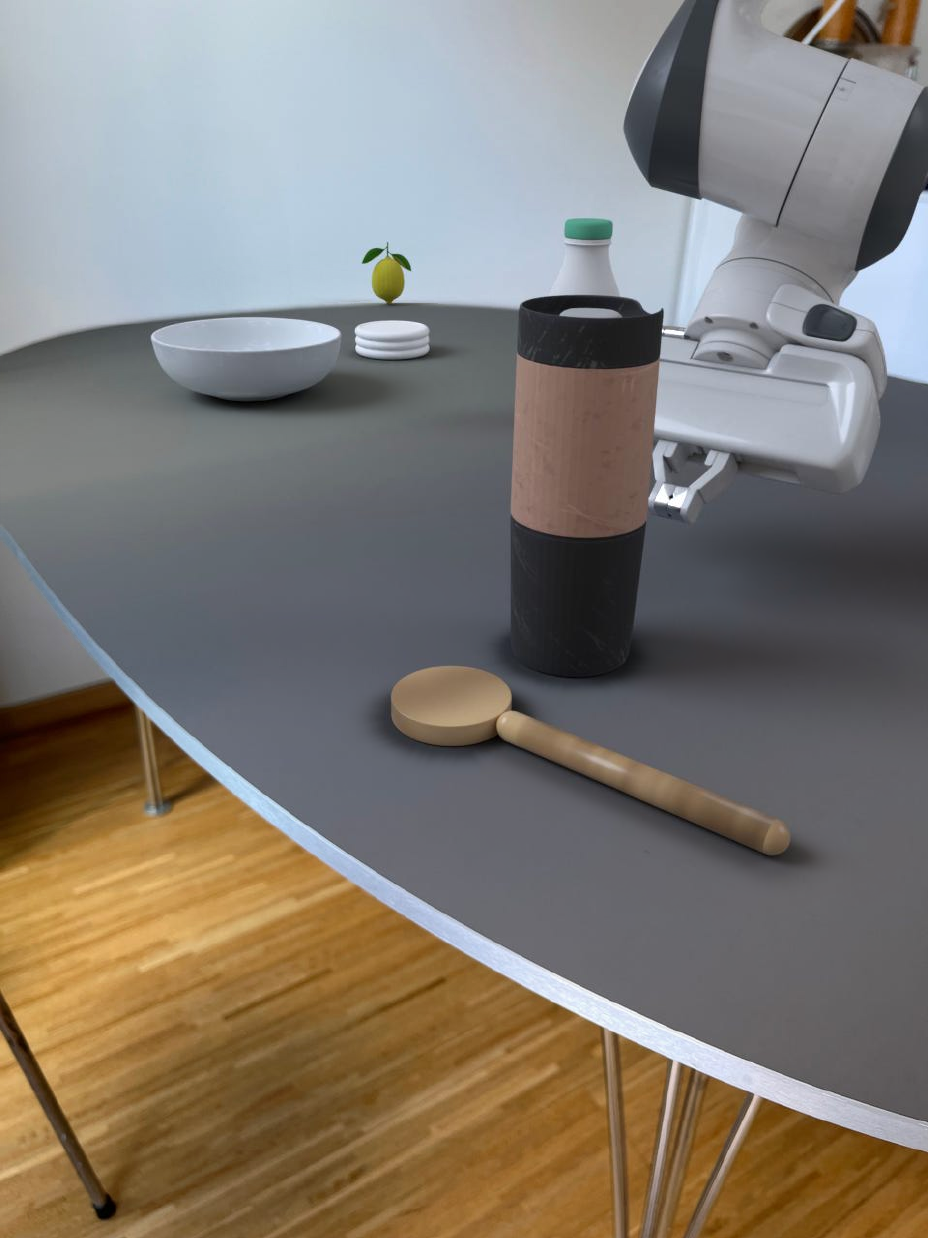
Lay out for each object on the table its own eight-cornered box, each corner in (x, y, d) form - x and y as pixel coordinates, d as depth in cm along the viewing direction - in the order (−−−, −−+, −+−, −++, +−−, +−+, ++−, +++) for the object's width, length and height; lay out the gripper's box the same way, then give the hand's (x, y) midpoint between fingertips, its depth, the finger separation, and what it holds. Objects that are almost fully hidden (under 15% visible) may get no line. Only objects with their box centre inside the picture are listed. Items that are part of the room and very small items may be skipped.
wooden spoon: (815, 823, 47) (820, 794, 46) (753, 897, 42) (759, 866, 42) (444, 672, 59) (444, 648, 58) (366, 717, 55) (365, 691, 54)
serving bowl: (333, 416, 109) (330, 350, 106) (136, 415, 109) (127, 349, 106) (351, 372, 128) (349, 315, 125) (183, 371, 128) (176, 314, 125)
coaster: (401, 363, 133) (401, 336, 132) (340, 354, 138) (339, 327, 136) (443, 350, 141) (443, 324, 139) (384, 342, 145) (383, 317, 144)
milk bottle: (623, 419, 109) (639, 218, 100) (601, 438, 103) (615, 224, 94) (555, 411, 112) (564, 214, 103) (528, 428, 106) (536, 220, 97)
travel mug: (486, 664, 60) (494, 311, 51) (531, 612, 66) (545, 290, 58) (614, 691, 57) (645, 323, 49) (648, 634, 64) (681, 300, 55)
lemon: (362, 305, 174) (360, 242, 169) (376, 300, 179) (374, 239, 174) (399, 308, 172) (398, 244, 168) (412, 302, 177) (411, 241, 173)
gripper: (605, 292, 72) (519, 459, 70) (902, 326, 61) (812, 528, 58) (633, 346, 77) (554, 504, 75) (912, 388, 66) (829, 576, 63)
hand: (669, 515), depth 66 cm, fingers closed
